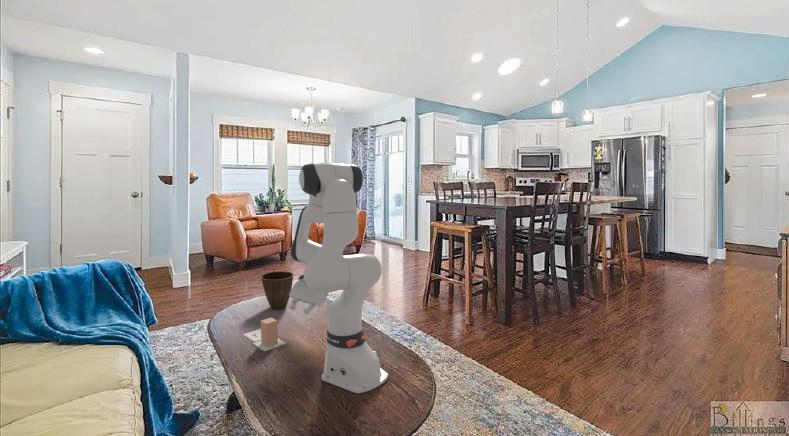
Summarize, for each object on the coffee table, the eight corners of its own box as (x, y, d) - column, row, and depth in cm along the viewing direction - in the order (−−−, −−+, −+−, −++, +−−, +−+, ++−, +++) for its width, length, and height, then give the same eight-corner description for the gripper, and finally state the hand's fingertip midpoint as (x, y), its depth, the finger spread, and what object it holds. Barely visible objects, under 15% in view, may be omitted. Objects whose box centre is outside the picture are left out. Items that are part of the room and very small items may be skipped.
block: (278, 343, 148) (277, 320, 147) (267, 346, 145) (266, 323, 143) (272, 339, 151) (271, 317, 150) (261, 343, 148) (260, 320, 147)
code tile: (277, 334, 157) (277, 333, 157) (254, 342, 150) (254, 341, 150) (265, 327, 164) (265, 327, 164) (242, 334, 157) (242, 334, 156)
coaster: (286, 344, 148) (286, 342, 148) (264, 352, 141) (264, 350, 141) (274, 337, 154) (274, 336, 154) (252, 344, 148) (252, 343, 148)
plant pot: (289, 312, 182) (288, 279, 180) (258, 312, 181) (256, 279, 180) (297, 301, 197) (296, 271, 195) (268, 302, 196) (266, 271, 194)
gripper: (336, 289, 156) (318, 320, 150) (306, 282, 170) (289, 310, 164) (326, 281, 153) (308, 313, 147) (297, 275, 166) (279, 303, 160)
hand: (298, 311), depth 156 cm, fingers open, 8 cm apart
